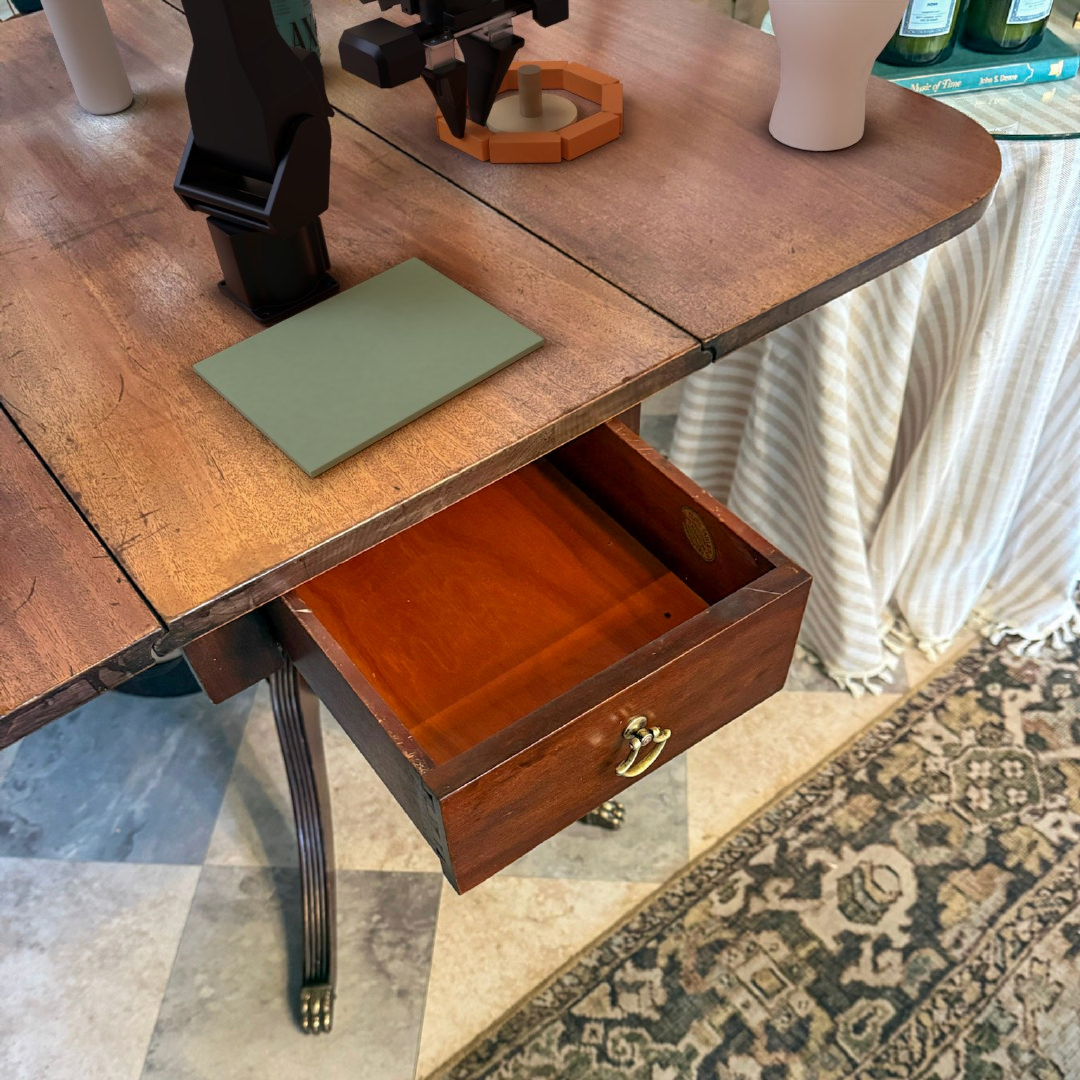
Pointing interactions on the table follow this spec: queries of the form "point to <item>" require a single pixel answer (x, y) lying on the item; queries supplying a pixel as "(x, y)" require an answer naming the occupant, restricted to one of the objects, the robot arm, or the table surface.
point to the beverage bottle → (296, 23)
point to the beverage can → (90, 54)
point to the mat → (365, 363)
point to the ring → (548, 143)
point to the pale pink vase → (827, 67)
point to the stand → (531, 107)
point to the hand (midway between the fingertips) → (468, 132)
